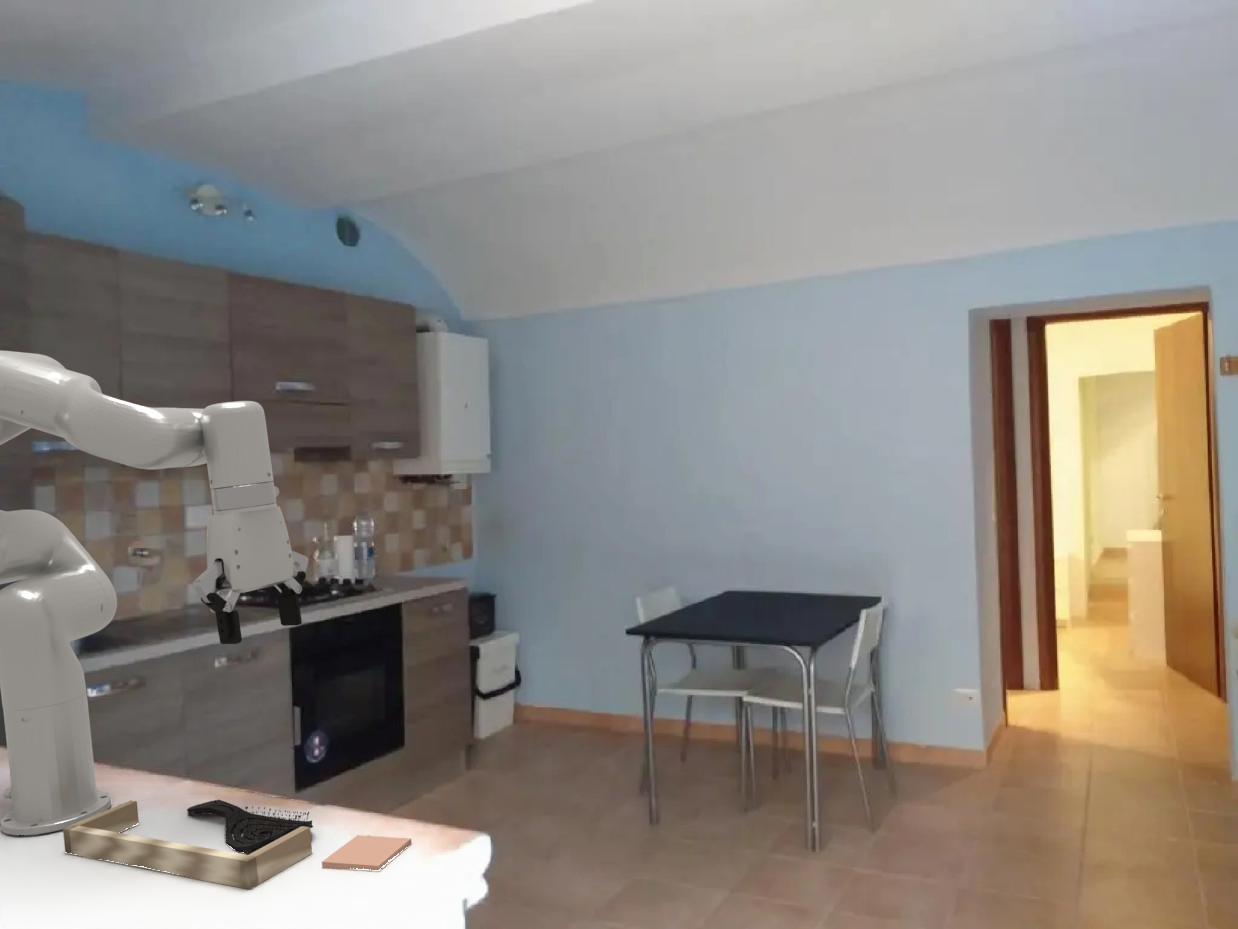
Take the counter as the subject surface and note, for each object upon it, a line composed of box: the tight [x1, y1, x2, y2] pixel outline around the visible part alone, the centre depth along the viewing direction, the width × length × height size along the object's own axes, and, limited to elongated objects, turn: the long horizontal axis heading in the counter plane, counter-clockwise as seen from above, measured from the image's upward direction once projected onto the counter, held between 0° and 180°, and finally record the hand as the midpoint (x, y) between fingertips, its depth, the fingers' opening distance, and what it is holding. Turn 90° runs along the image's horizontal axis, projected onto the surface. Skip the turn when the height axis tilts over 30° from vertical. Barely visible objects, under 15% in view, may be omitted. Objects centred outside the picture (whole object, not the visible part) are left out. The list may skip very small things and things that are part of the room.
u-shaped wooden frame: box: [62, 800, 313, 890], centre depth 114 cm, size 30×9×3 cm, turn 63°
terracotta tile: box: [321, 834, 413, 870], centre depth 110 cm, size 7×7×1 cm
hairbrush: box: [186, 799, 314, 854], centre depth 121 cm, size 8×4×25 cm
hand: (262, 633), depth 125 cm, fingers open, 9 cm apart
